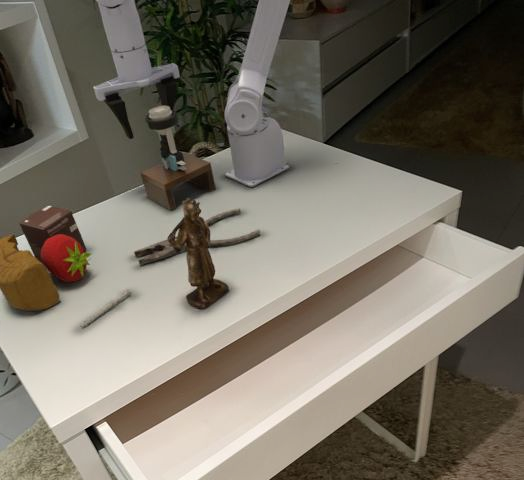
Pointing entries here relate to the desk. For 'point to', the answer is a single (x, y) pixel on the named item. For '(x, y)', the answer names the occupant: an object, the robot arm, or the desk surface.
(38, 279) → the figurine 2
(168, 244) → the pliers
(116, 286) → the desk surface
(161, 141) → the push button
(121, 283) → the desk surface
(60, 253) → the strawberry
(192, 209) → the figurine
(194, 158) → the brown wooden bridge block
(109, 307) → the wall anchor
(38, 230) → the box
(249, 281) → the desk surface
